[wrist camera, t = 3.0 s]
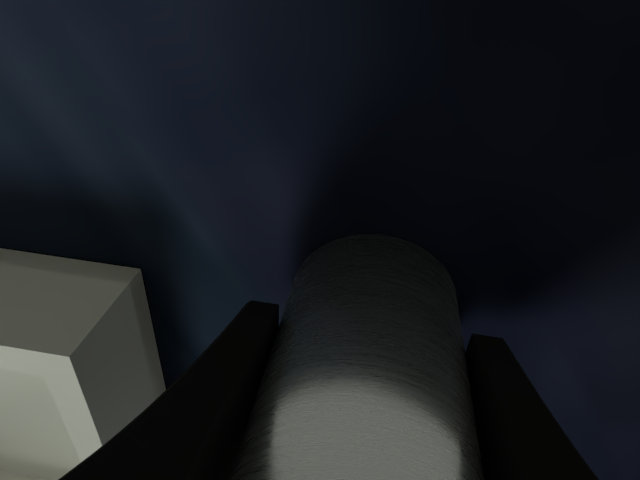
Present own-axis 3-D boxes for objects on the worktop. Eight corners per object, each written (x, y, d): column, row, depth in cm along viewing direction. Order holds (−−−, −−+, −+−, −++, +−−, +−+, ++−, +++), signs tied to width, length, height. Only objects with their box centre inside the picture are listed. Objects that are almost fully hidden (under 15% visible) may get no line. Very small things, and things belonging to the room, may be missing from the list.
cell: (475, 246, 10) (581, 688, 4) (437, 369, 12) (469, 765, 6) (294, 222, 10) (150, 594, 4) (290, 345, 12) (191, 699, 7)
